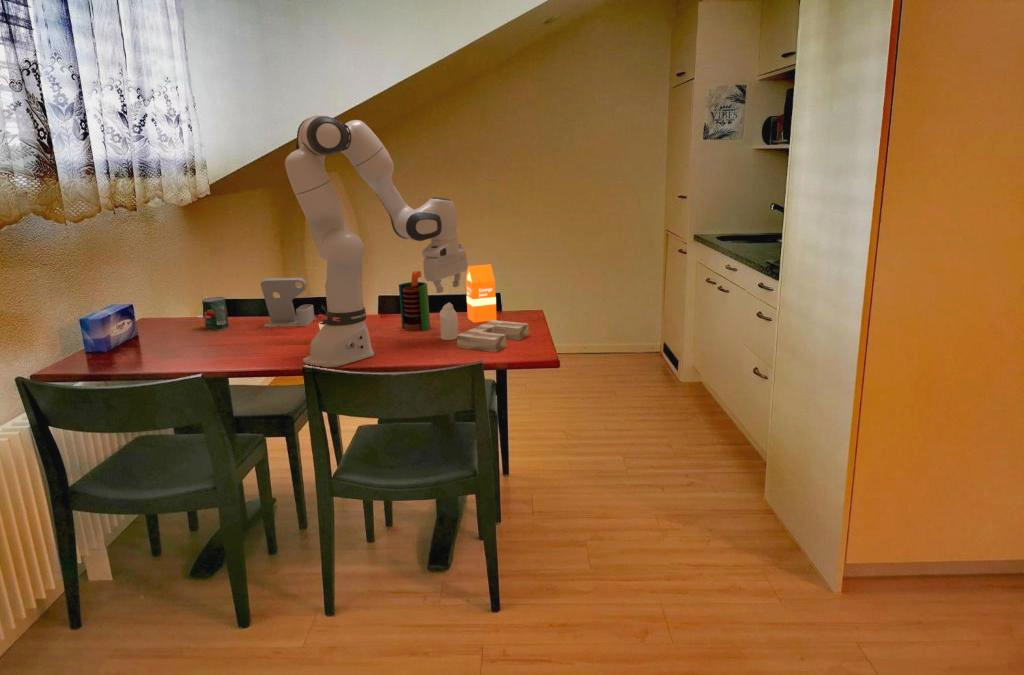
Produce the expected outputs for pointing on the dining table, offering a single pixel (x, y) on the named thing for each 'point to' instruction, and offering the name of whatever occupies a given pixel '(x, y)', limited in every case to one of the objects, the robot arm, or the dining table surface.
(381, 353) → the dining table surface
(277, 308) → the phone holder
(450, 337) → the grey rounded cylinder
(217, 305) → the canned tomato
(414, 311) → the motor
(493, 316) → the orange juice
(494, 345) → the notched board
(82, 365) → the dining table surface
